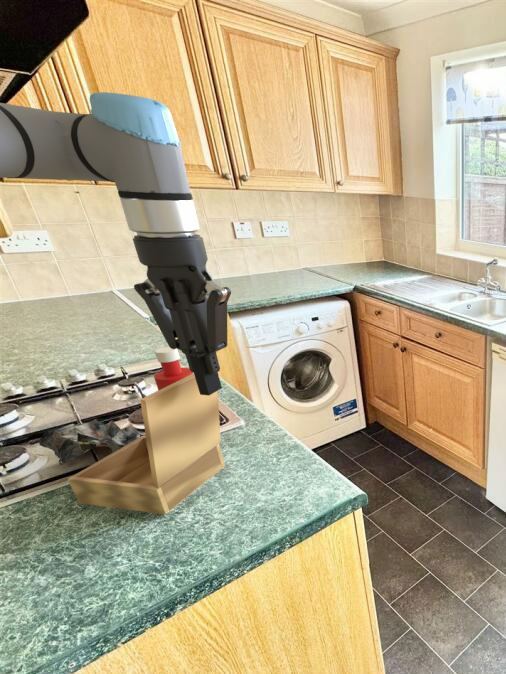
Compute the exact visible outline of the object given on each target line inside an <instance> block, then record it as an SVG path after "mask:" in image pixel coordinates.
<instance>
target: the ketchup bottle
mask: <svg viewBox="0 0 506 674" xmlns="http://www.w3.org/2000/svg"><path fill="white" fill-rule="evenodd" d="M154 354H155V357H156V360H157V362H158V363H160V366H161V371H159V372H157V373H155V374H154V376H153V378H154V381H155V384H156V388H157V391H159V390H161V389H163V388H165V387H167V386H169V385H171V384H173V383H175V382H177V381H179V380H181V379H183V378H185V377H187V376H189V375H191V374H194V373H192V372H191V371H190V369H189V367H181V363H180V359H181V356H180V353H179V349H177V348H176V349H171V348H170V347H169V346H164V347H160V348H157V349H155V350H154Z"/></svg>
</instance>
